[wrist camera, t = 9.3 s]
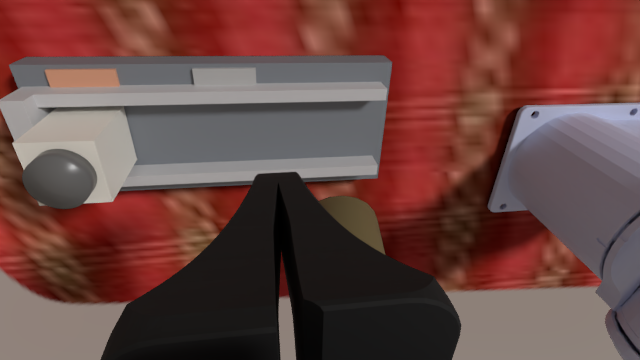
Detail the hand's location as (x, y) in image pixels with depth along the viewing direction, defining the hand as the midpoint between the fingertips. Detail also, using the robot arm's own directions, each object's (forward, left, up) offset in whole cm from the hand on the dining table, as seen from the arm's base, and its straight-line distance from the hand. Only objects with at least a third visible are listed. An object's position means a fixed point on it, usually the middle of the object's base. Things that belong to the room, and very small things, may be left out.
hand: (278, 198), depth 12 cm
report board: (+3, +1, -10) cm, 11 cm away
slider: (+9, +1, -9) cm, 12 cm away
